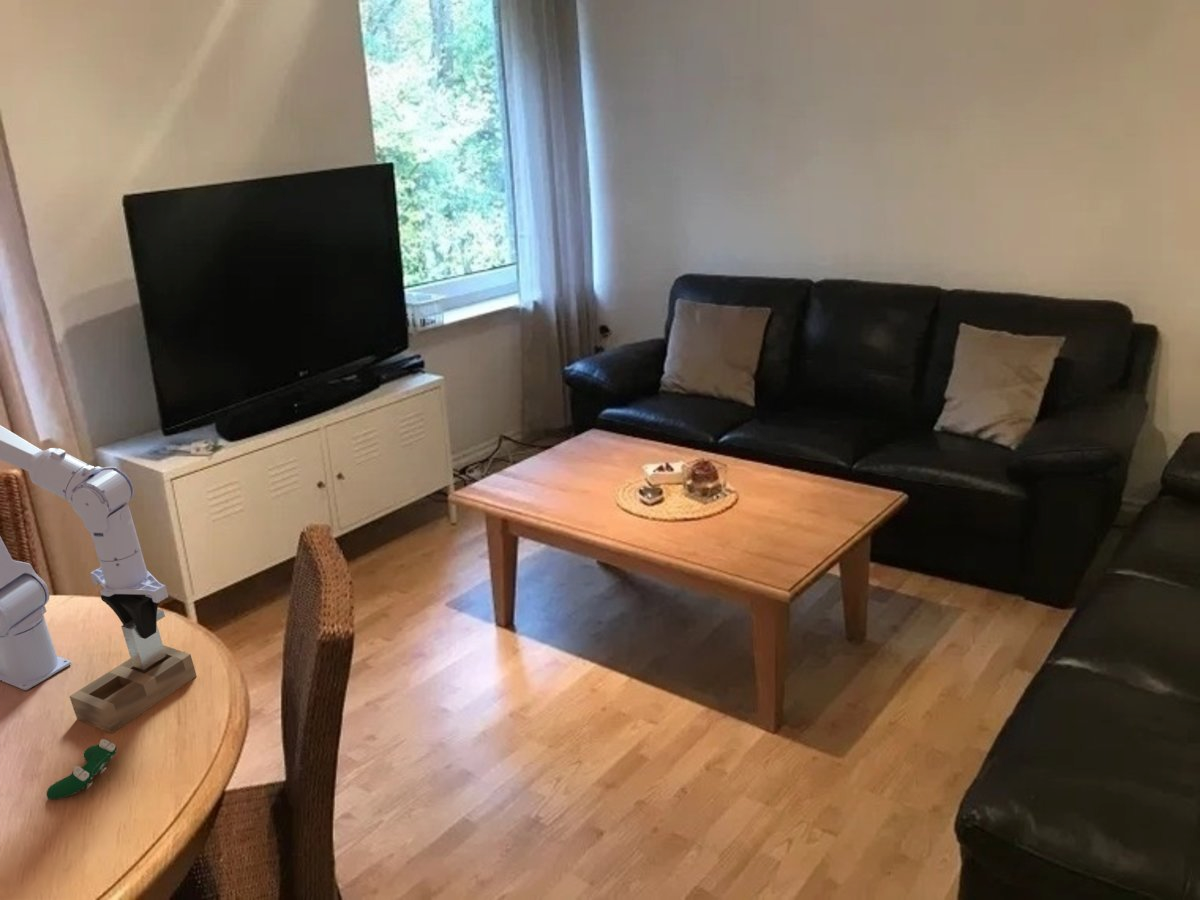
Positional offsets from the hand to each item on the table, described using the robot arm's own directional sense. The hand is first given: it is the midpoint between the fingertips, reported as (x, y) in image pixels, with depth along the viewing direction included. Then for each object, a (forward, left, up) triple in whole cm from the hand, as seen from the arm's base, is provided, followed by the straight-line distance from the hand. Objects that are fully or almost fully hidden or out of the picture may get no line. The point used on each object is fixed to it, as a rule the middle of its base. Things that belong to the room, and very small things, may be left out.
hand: (142, 632), depth 157 cm
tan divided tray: (0, -4, -9) cm, 10 cm away
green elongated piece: (+10, -19, -10) cm, 23 cm away
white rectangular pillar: (0, 0, -5) cm, 5 cm away
